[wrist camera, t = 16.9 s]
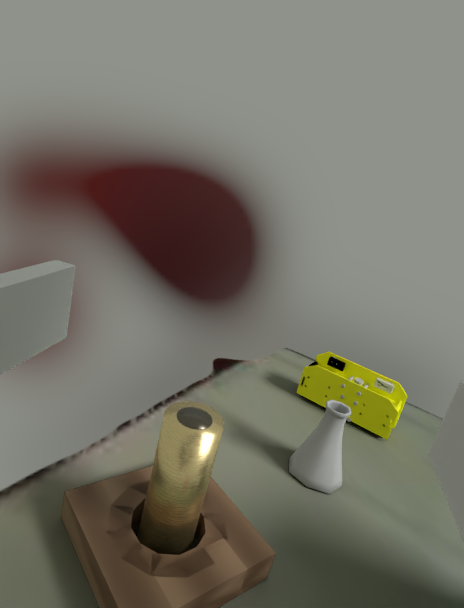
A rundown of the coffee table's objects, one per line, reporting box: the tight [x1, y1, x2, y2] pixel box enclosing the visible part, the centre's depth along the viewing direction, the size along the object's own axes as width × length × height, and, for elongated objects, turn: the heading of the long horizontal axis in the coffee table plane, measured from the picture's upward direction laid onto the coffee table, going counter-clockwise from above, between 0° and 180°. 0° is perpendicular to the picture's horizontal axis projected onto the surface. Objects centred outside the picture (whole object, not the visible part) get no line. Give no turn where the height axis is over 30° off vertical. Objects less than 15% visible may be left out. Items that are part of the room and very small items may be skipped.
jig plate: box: [61, 466, 276, 608], centre depth 38 cm, size 14×14×3 cm
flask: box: [289, 400, 351, 494], centre depth 53 cm, size 7×7×10 cm
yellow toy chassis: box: [296, 352, 407, 440], centre depth 70 cm, size 16×6×8 cm, turn 55°
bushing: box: [137, 401, 224, 555], centre depth 37 cm, size 5×5×14 cm
